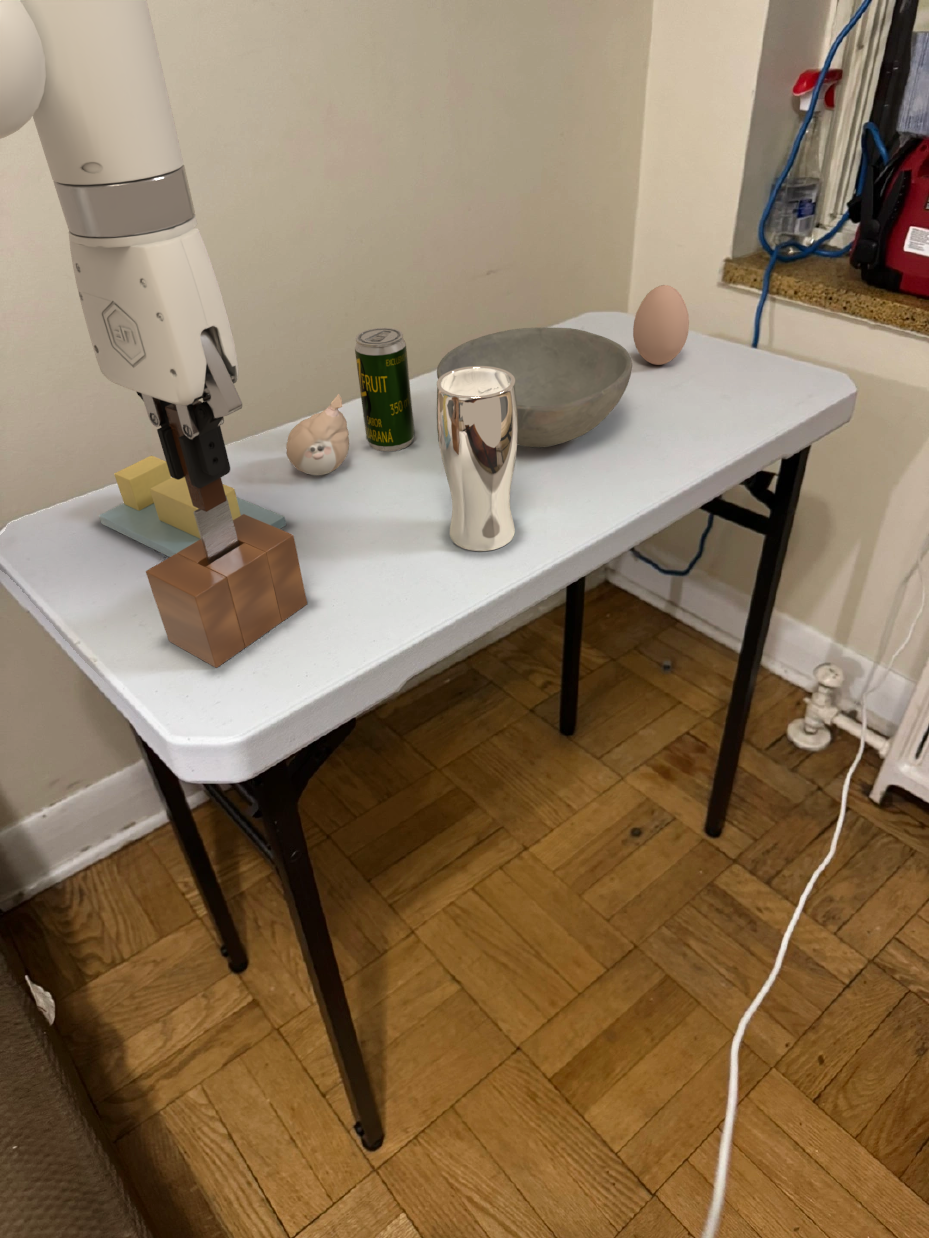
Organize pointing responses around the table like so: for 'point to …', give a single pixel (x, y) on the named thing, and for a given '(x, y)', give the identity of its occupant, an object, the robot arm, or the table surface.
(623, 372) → the bowl
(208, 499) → the knife
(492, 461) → the beer glass
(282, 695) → the table surface
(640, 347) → the egg
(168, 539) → the butter dish
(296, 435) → the garlic bulb
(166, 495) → the butter
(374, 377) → the green soda can
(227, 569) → the knife block
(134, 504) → the butter slice
